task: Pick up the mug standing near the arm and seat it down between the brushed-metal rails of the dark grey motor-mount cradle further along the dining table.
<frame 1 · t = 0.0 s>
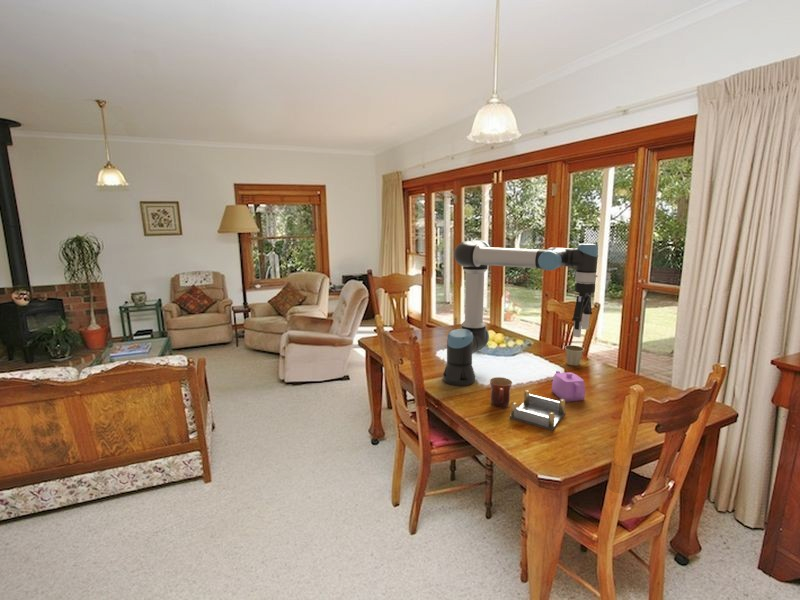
hand: (580, 332, 171), 28 cm above the table, fingers open, 13 cm apart
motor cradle: (537, 415, 159), on the table
mug: (500, 407, 167), on the table
teapot: (567, 395, 177), on the table
flower pot: (572, 364, 214), on the table
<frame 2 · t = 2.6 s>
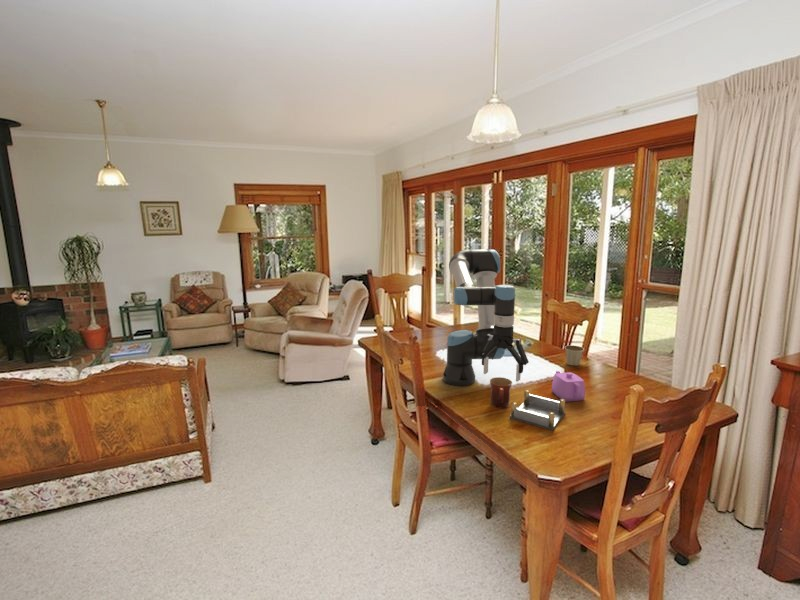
hand: (501, 376, 164), 13 cm above the table, fingers open, 13 cm apart
nothing on the table moved.
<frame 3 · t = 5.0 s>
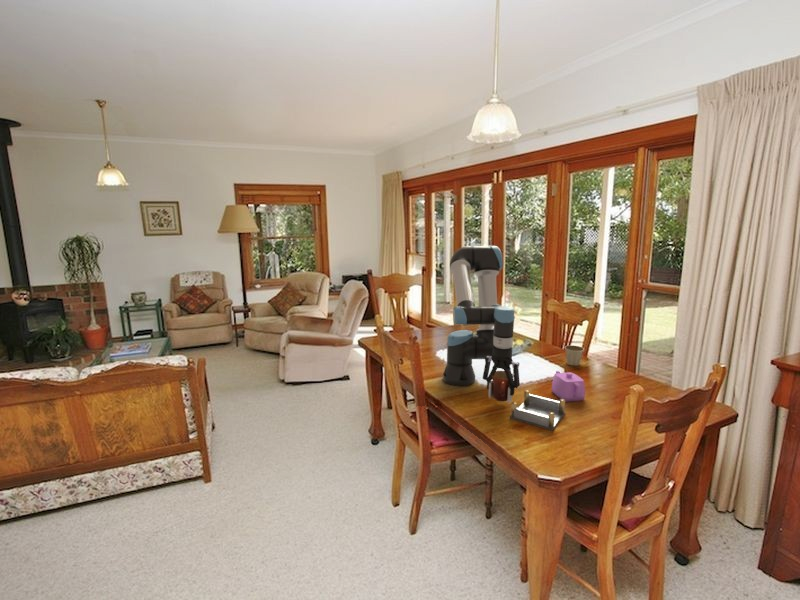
hand: (499, 399, 167), 3 cm above the table, fingers closed on mug, 7 cm apart
mug: (501, 400, 167), point 2 cm above the table, touching gripper
everything else where it was.
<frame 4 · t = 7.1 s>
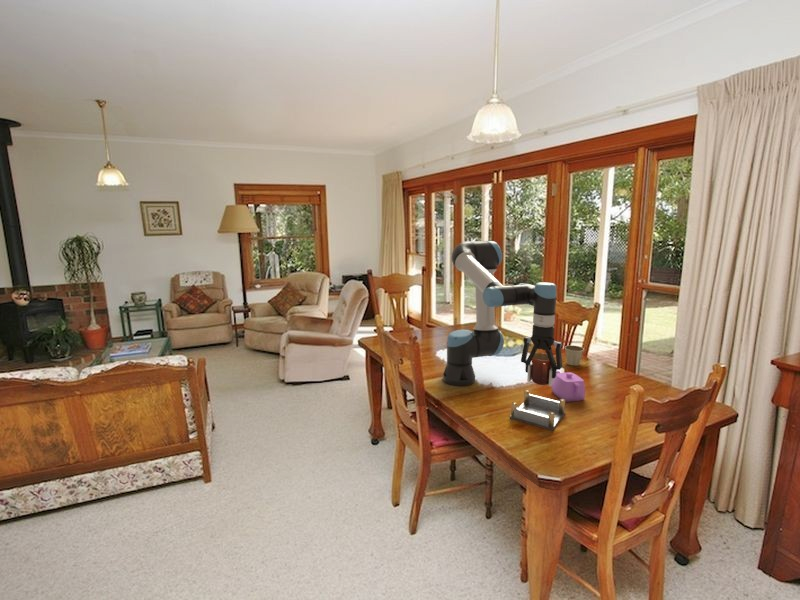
hand: (539, 382, 156), 14 cm above the table, fingers closed on mug, 7 cm apart
mug: (541, 384, 156), point 13 cm above the table, touching gripper
everything else where it was.
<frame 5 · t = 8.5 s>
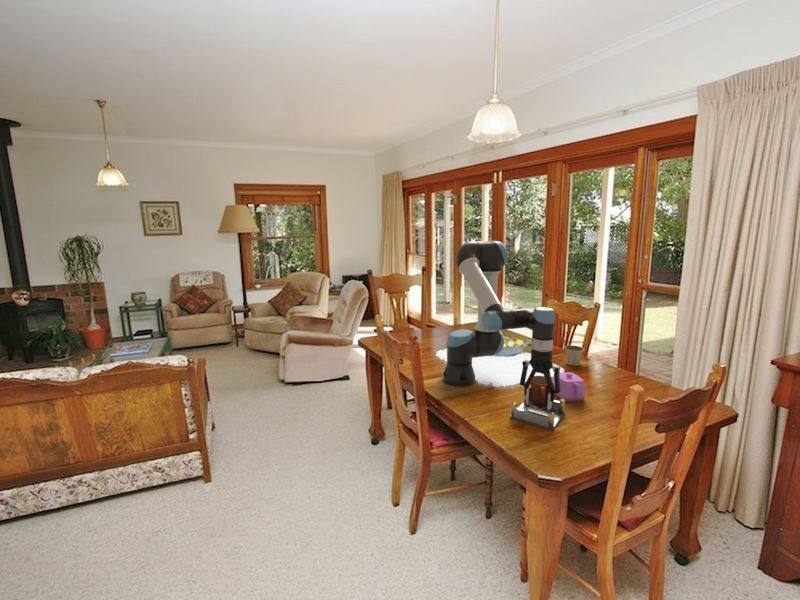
hand: (538, 405, 158), 4 cm above the table, fingers closed on mug, 7 cm apart
mug: (540, 407, 158), point 4 cm above the table, touching gripper
everything else where it was.
when the fingers open (2 cm above the table, at t = 9.4 s): mug stays where it is, resting on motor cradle.
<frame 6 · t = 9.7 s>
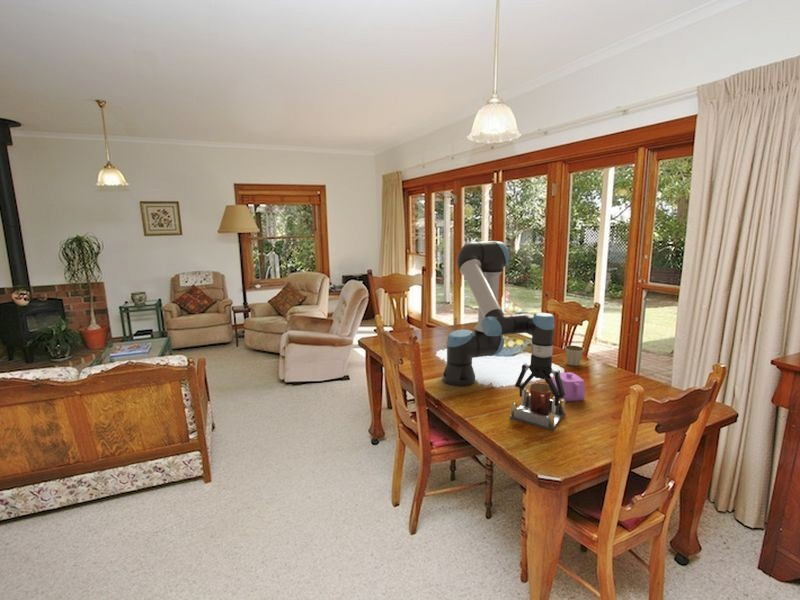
hand: (538, 408, 158), 3 cm above the table, fingers open, 11 cm apart
mug: (539, 414, 159), point 1 cm above the table, touching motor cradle
everything else where it was.
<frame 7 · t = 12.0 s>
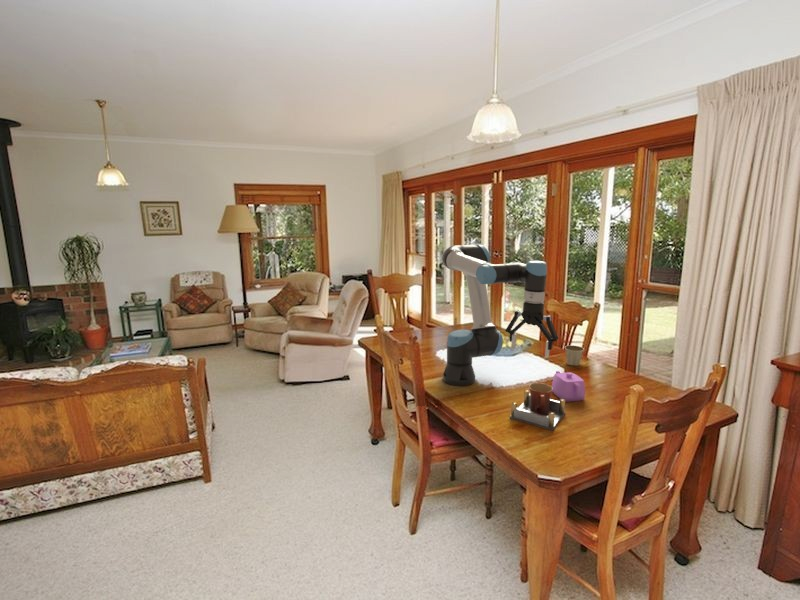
hand: (529, 353, 164), 22 cm above the table, fingers open, 13 cm apart
nothing on the table moved.
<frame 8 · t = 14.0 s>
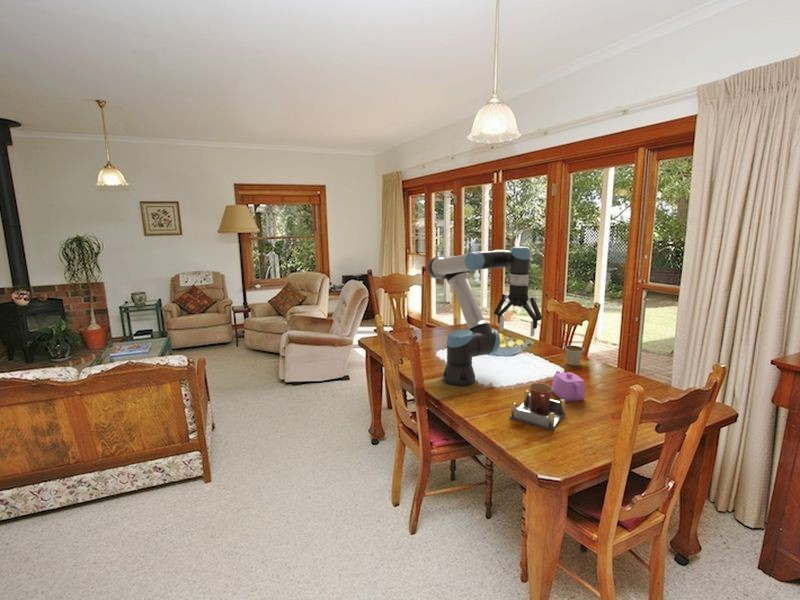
hand: (516, 333, 176), 27 cm above the table, fingers open, 13 cm apart
nothing on the table moved.
at the end: mug inside the target area on the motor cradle (0.7 cm from its centre), point 0.8 cm above the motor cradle's base; mug tilted 0°; the gripper is holding nothing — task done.
